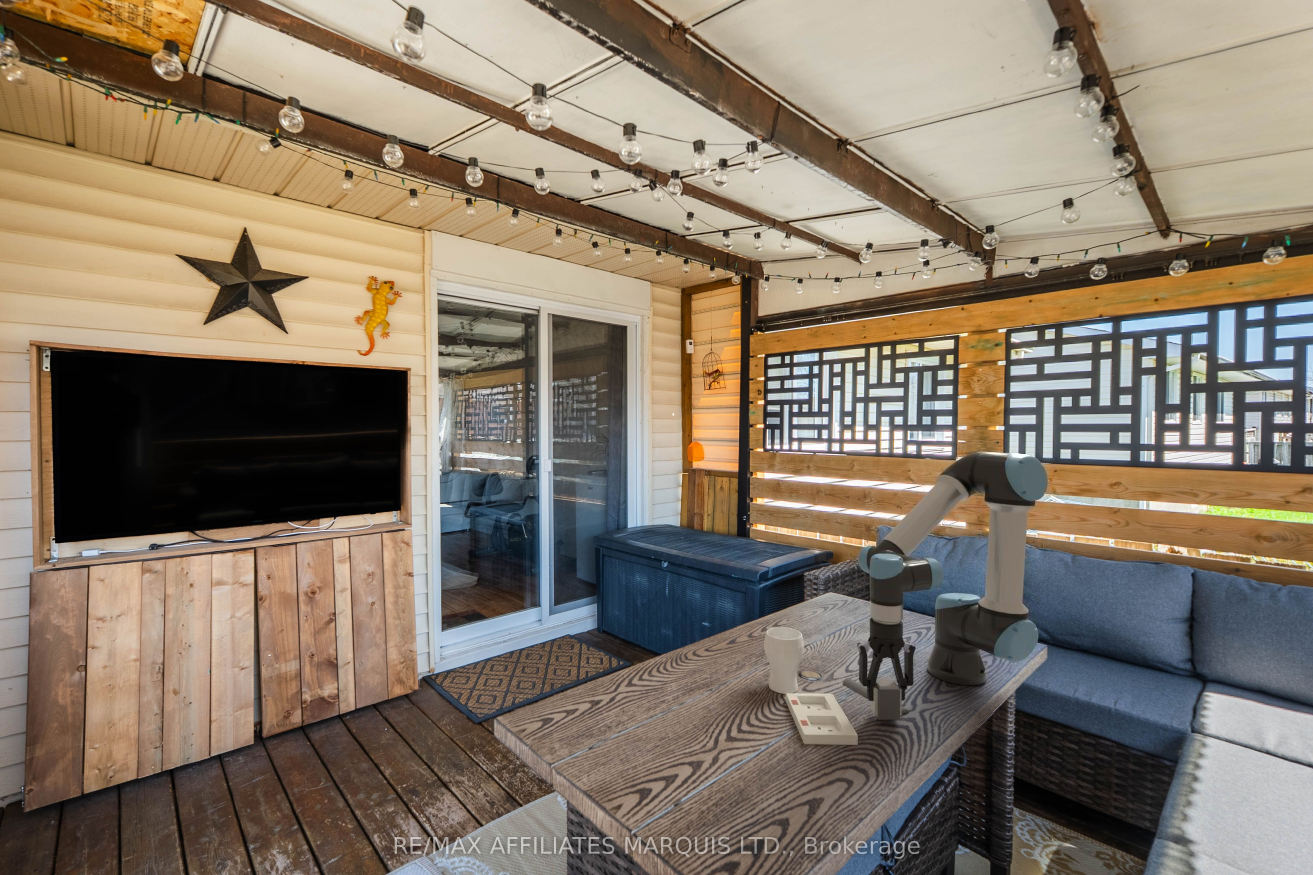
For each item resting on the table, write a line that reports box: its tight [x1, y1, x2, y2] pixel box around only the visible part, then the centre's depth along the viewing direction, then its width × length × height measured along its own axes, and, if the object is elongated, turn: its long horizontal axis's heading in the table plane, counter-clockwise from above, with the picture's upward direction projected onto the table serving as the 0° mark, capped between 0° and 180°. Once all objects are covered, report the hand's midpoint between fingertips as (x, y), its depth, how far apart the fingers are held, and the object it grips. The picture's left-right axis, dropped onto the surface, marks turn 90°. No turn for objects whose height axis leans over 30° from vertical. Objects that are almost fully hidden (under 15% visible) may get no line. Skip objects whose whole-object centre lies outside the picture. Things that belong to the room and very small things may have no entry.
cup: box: [763, 626, 805, 695], centre depth 160 cm, size 11×11×15 cm
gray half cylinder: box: [842, 677, 909, 715], centre depth 155 cm, size 4×20×2 cm, turn 26°
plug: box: [875, 677, 901, 721], centre depth 144 cm, size 5×5×8 cm
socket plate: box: [785, 692, 859, 746], centre depth 143 cm, size 12×20×2 cm, turn 179°
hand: (885, 712), depth 144 cm, fingers closed on plug, 5 cm apart
